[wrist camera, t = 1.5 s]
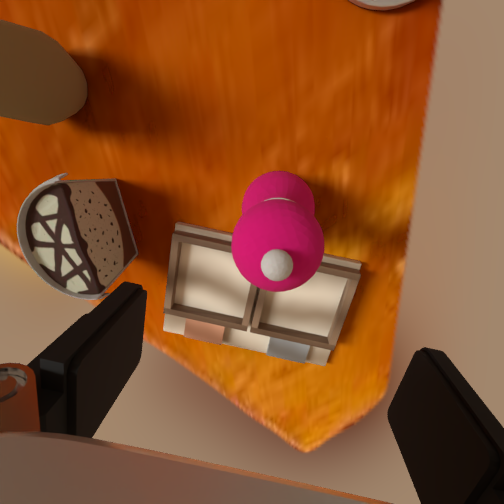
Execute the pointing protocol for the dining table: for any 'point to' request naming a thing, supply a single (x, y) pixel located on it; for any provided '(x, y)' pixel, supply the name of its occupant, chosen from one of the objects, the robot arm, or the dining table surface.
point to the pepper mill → (278, 233)
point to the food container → (76, 235)
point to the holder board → (253, 300)
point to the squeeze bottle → (37, 77)
